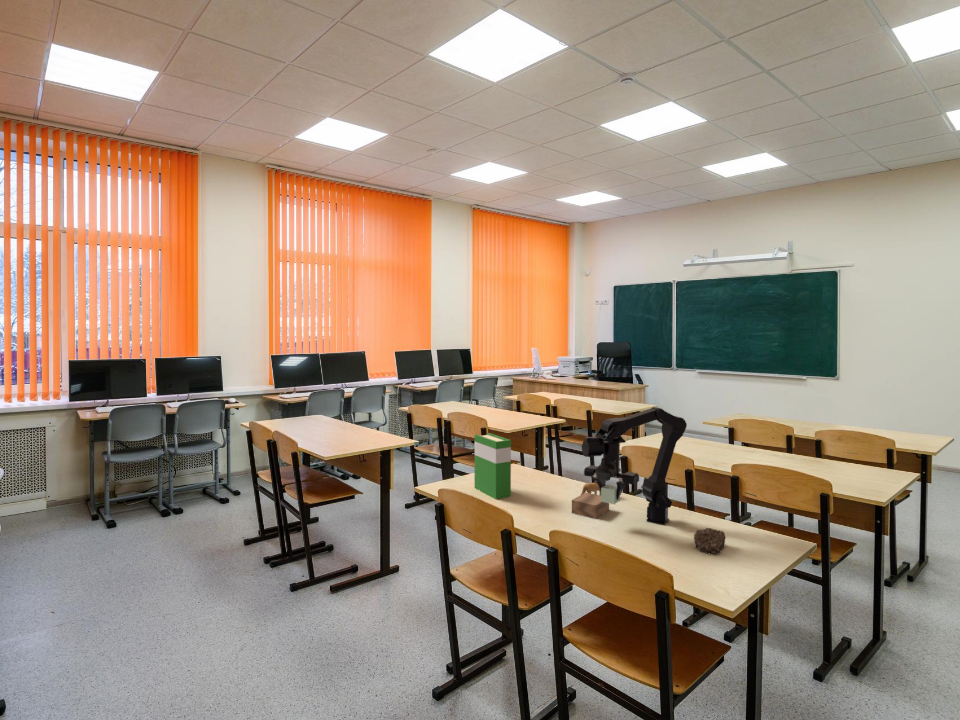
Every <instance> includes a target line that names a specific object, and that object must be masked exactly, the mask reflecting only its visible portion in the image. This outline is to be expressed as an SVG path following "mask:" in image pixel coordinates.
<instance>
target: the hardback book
mask: <svg viewBox="0 0 960 720" xmlns="http://www.w3.org/2000/svg"><path fill="white" fill-rule="evenodd" d="M511 473H512V440H511V439H508V438H506V437H502V436H499V435H496V434H493V433H490V432H487V434H485V435H480V434H474V489H475V488H476V491H477V490H478V491H479V490H480V491H479V492H481V493H482V494H485V495H486V496H489V497H490V498H492V499H494V500H500V499H505V498H504V497H506V498H510V497H509V496H511V495H512V492H511V491H512V490H511V489H512V488H511V487H512V485H511V484H512V483H511V481H512V480H511V479H512V474H511ZM499 498H500V499H499Z"/></svg>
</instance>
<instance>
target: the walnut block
mask: <svg viewBox="0 0 960 720" xmlns="http://www.w3.org/2000/svg"><path fill="white" fill-rule="evenodd" d="M608 511H610V503H605V502H601V496H600V495H599V494H597V495H596V494H594V493H592V492H591V493H587V492H585V493H584V494H582V495H581V494H579V495H578V496H576V497H574V498H573V499H571V514H574V513H575V514H574V515H578V514H579V516H582V515H583V517H586V518H587V517H588V518H592V519H595V520H597V519H598V518H599V517H601V516H602V515H604V514H605V513H607V512H608Z"/></svg>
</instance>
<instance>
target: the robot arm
mask: <svg viewBox="0 0 960 720" xmlns="http://www.w3.org/2000/svg"><path fill="white" fill-rule="evenodd" d="M654 421H657V422H658V423H660V424H661V434H662V440H661V441H660V442H661V443H660V446H659V448H658V449H659V450H658V453H657V456H656V460H655V462H654V466H653V469H652V472H651V475H650V476H649V477H648V478H647V477H644V478H643V481H642V482H643V483H642V485H641V486H640V487H641V493H642V496H643V497H644V498H645V500H646V502H648V506H647V507H646V518H647V519H646V522H650V523H655V524H659V525H666V523H668V522H669V521H670V518H669V508H671V507H672V503H673V501H672V500H671V499H670V497H668V496H667V488H668V487H667V483H666V479H667V475H668V472H669V468H670V464H671V462H672V458H673V455H674V452H675V449H676V448H675V447H676V446H677V445H676V444H677V443H678V441H679V440H680V439H681V438H682V437H683V436H684V435H685V434H684V433H685V432H686V429H687V425H688V424H687V421H686V420H685V419H684V417H680V416H678V415H677V416H676V415H673V414H671V413H670V412H667V411H666V410H664V409H663V408H661V407H658V406H657V407H656V406H652V407H651V408H648V409H646V410H643V411H639V412H637V413H634V414H631V415H628V416H625V417H624V416H623V417H613V418H612V417H611V418H606V419H604V420H603V421H602V423H601V426H600V427H599V429H598V430H597V432H596V433H595V434H594V436H584V440H583V441H582V445H581V451H582V455H583V456H584V457H585V458H587V457H589V458H590V457H600V456H602V458H601V460H600V463H599V465H598V466H597V465H593V464H590V465H588V466H586V467H585V468H584V469H583V476H585V477H590V478H591V477H592V480H593V481H594V482H595V481H596V482H597V483H598V485H599V488H600V491H601V488H602V487H603V486H605V485H607V483H606V482H609V481H610V480H611V478H615V479H618V481H616V483H615V484H616V486H617V494H616V498H617V500H618V499H619V497H620V498H621V495H622V493H623V491H624V488H625V486H626V485H635V484H637V483H638V482H640V476H639V473H637V472H633V471H626V472H624V473H622V470H621V468H620V462H621V460H622V457H620V454H621V453H620V450H621V446H620V445H621V444H624V443H627V442H626V440H625V439H624V438H623V435H625V434H626V433H628V431H629V430H631V429H633V428H636V427H639V426H642V425H646V424H648V423H652V422H654Z"/></svg>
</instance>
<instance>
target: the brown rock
mask: <svg viewBox="0 0 960 720" xmlns="http://www.w3.org/2000/svg"><path fill="white" fill-rule="evenodd" d="M726 538H727V537H726V534H725V532H724V531H722V530H717V529H714V528H708V527H705V528H704V529H697V530H696V531H695V533H694V535H693V540H694V545H695V548H696V549H698V551H699V552H701V553H705V554H708V553H710V554H709V555H711V554H713V555H717V556H718V555H719V554H721V551H723V550H724V549H725V546H726V545H725V542H726Z"/></svg>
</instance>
